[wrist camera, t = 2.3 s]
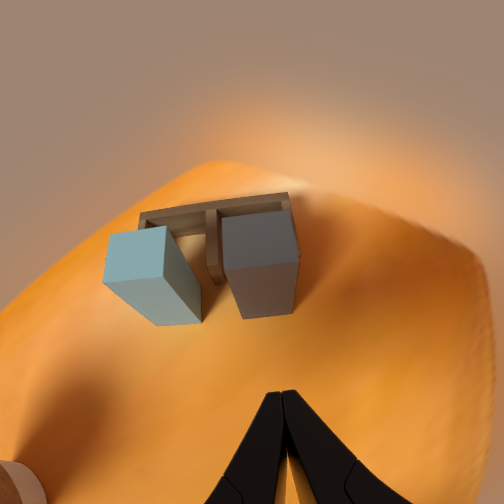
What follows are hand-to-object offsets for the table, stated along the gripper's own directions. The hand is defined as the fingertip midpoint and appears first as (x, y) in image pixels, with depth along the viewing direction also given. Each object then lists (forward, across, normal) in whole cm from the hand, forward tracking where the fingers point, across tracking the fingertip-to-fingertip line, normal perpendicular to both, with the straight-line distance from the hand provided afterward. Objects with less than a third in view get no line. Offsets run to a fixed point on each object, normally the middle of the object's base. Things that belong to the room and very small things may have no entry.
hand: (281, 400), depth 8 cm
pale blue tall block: (+13, +7, +3) cm, 15 cm away
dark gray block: (+13, 0, +2) cm, 13 cm away
